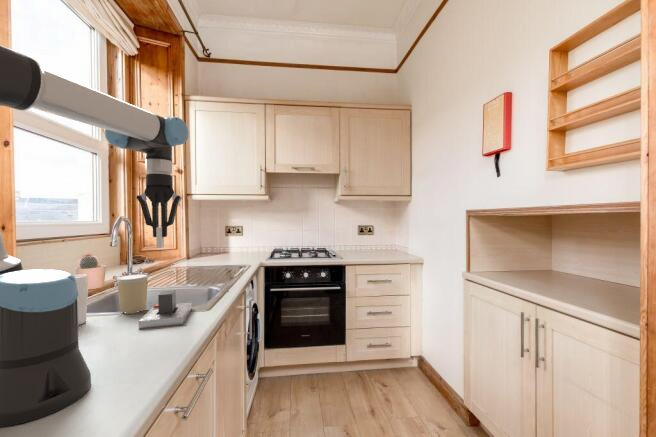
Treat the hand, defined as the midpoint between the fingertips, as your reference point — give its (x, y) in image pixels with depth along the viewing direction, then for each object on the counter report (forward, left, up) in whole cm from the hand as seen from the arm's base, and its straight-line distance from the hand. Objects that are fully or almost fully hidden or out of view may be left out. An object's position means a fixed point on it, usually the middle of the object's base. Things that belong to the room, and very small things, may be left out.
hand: (160, 247), depth 99 cm
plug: (+1, -2, -23) cm, 23 cm away
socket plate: (+1, -2, -23) cm, 23 cm away
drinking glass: (+4, +25, -24) cm, 35 cm away
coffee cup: (+14, +12, -24) cm, 30 cm away
